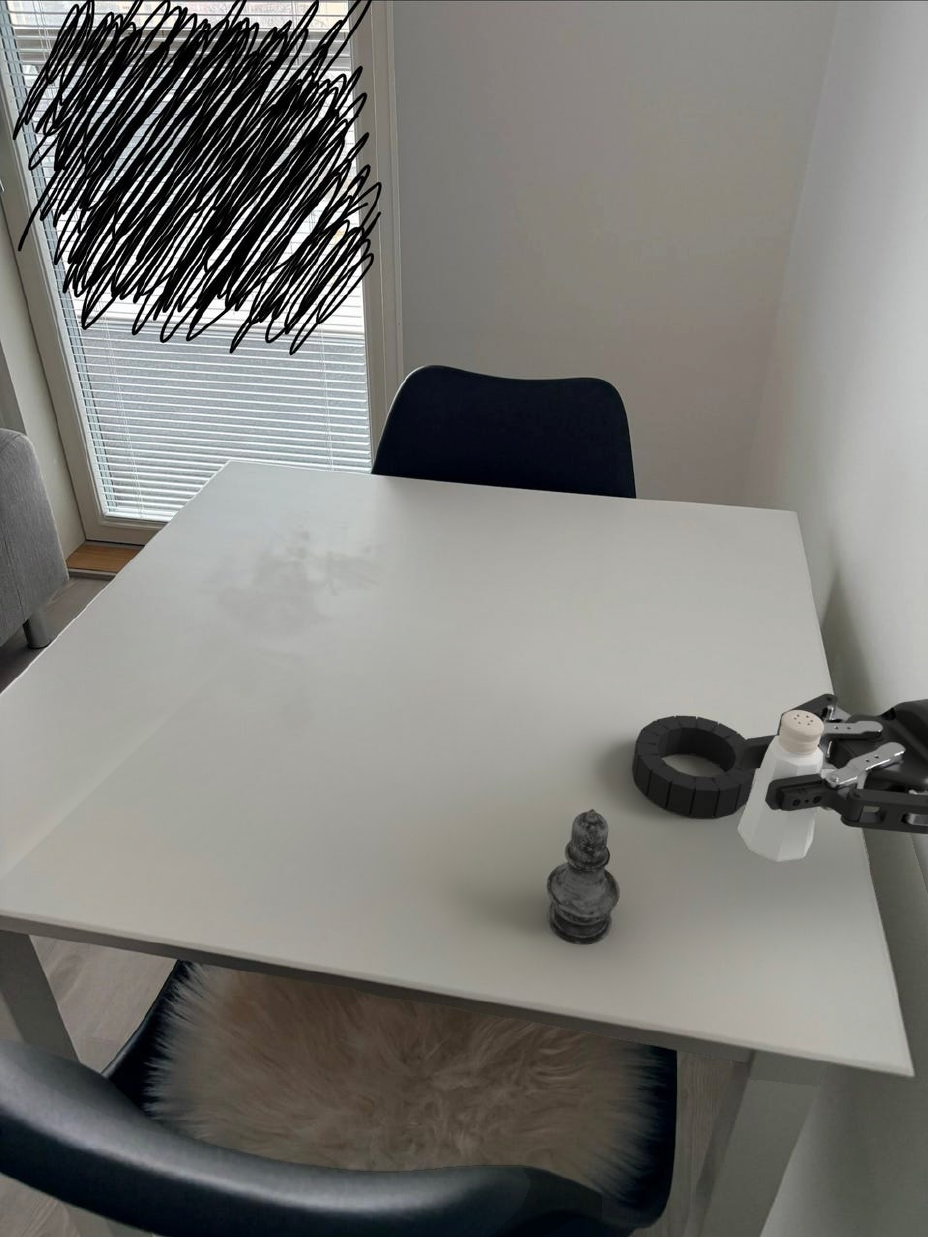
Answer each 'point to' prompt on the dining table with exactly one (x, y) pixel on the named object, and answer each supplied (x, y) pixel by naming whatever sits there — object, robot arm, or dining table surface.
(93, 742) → the dining table surface
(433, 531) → the dining table surface
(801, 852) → the pepper shaker
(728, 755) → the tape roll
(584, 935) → the grey chess piece
